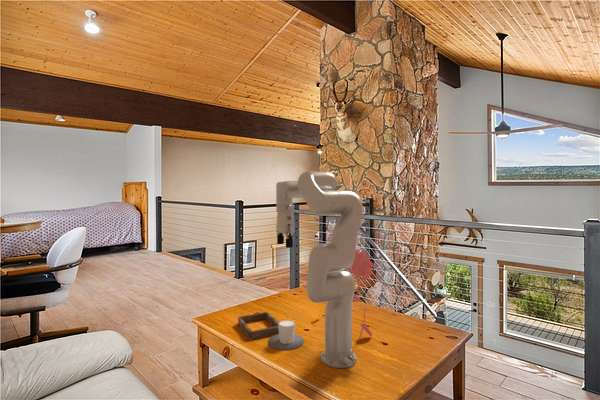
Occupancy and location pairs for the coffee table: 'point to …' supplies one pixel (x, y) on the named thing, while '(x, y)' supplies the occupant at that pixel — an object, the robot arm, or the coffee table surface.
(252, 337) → the brown rectangular frame
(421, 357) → the coffee table surface
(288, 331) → the white cylinder
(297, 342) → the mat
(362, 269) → the figurine
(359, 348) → the coffee table surface
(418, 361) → the coffee table surface
